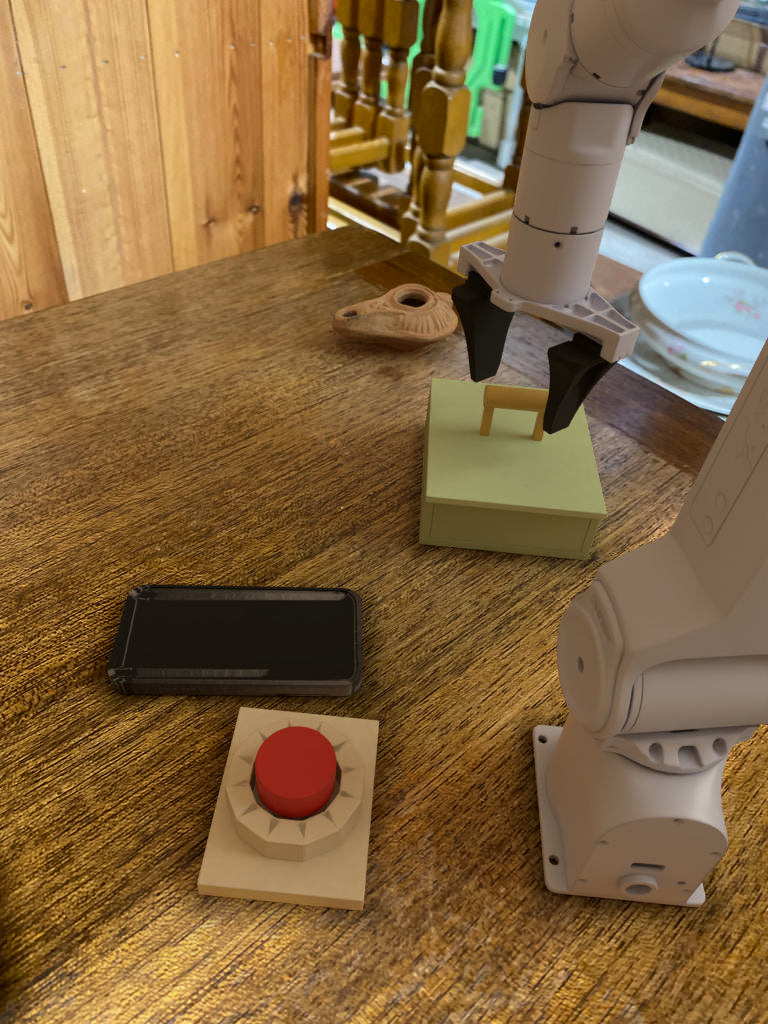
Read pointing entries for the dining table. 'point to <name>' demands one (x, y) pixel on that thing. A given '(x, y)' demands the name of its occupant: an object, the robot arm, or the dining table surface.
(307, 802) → the release button
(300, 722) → the block
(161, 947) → the dining table surface
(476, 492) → the compartment door
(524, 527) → the compartment
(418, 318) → the pottery oil lamp
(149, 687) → the phone
